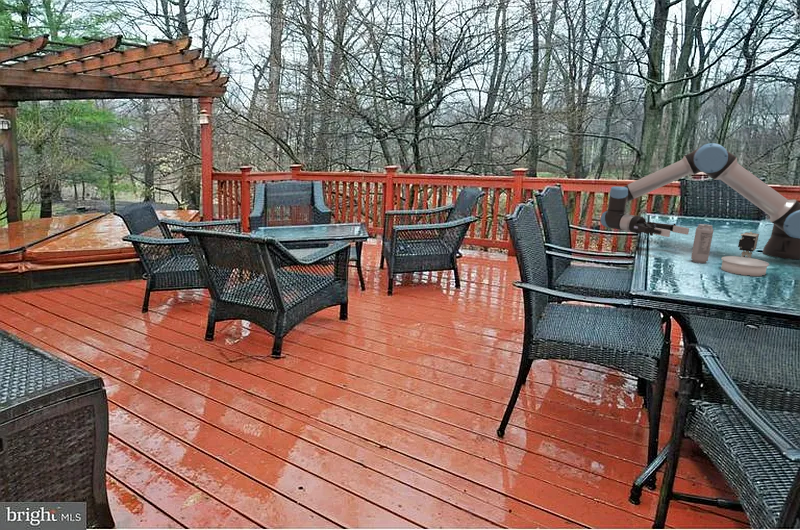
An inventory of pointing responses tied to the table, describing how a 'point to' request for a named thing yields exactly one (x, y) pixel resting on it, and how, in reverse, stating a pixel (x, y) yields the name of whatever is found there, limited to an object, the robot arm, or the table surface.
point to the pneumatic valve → (748, 243)
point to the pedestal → (744, 265)
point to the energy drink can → (702, 243)
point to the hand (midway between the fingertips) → (679, 232)
